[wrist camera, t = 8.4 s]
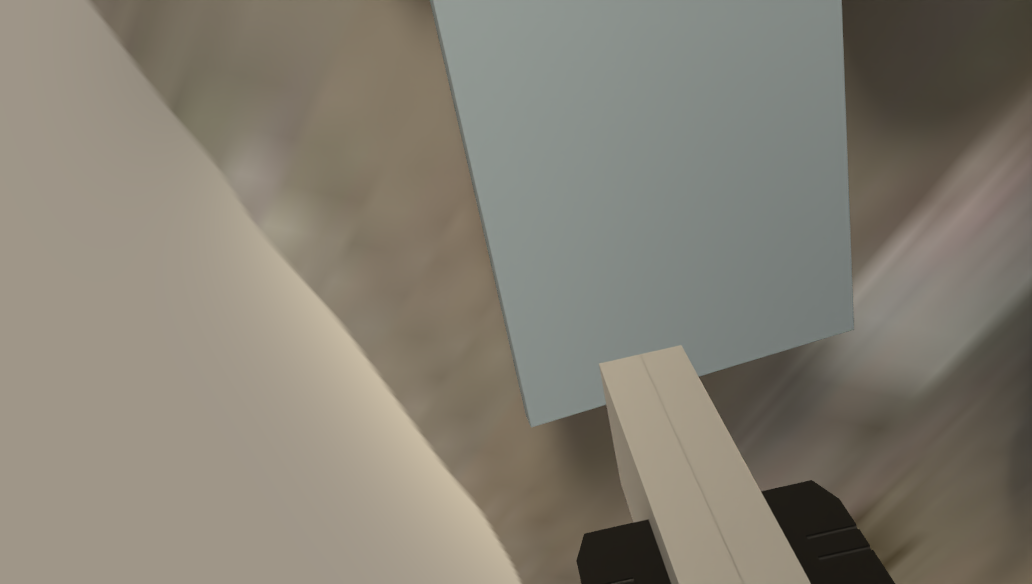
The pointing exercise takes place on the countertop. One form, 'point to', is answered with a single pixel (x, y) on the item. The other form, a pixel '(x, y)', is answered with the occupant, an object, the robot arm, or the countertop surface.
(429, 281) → the countertop surface
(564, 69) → the lid
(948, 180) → the countertop surface
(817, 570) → the robot arm
